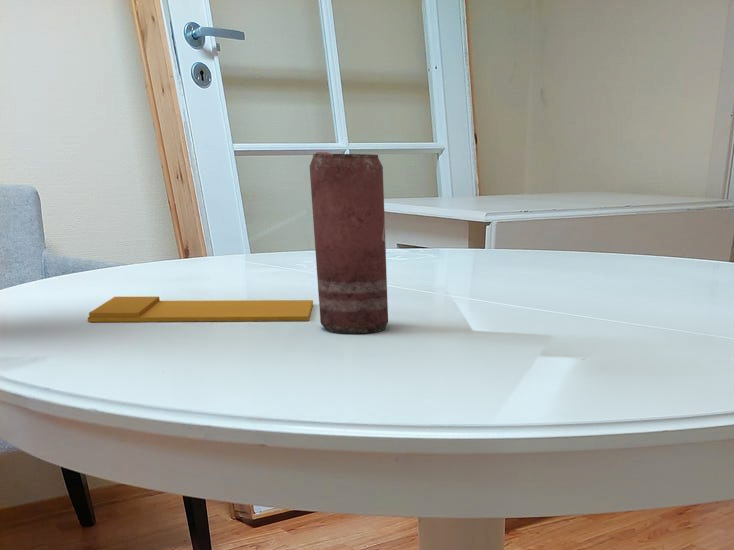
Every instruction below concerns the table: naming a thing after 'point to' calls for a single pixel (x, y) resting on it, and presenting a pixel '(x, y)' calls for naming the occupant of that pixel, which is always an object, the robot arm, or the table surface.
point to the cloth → (199, 310)
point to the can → (350, 241)
